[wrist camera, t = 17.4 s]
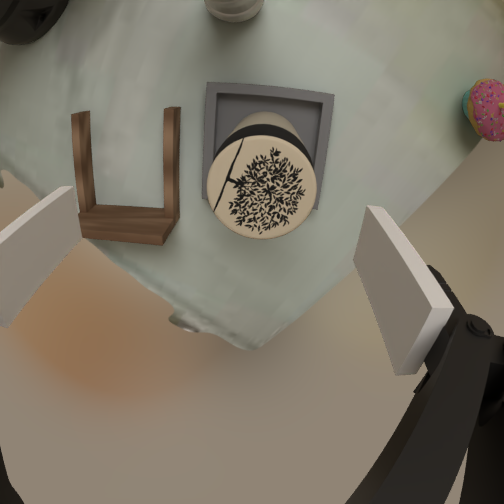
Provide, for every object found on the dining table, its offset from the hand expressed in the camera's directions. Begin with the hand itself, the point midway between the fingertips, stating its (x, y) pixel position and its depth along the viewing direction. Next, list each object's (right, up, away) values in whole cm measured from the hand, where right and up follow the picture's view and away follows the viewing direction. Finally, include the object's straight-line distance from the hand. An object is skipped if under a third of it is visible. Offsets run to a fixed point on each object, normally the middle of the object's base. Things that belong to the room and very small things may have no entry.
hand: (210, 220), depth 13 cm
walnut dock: (-15, +10, +26) cm, 32 cm away
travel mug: (+3, +12, +23) cm, 27 cm away
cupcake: (+33, +19, +19) cm, 42 cm away
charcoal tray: (+3, +12, +24) cm, 27 cm away
